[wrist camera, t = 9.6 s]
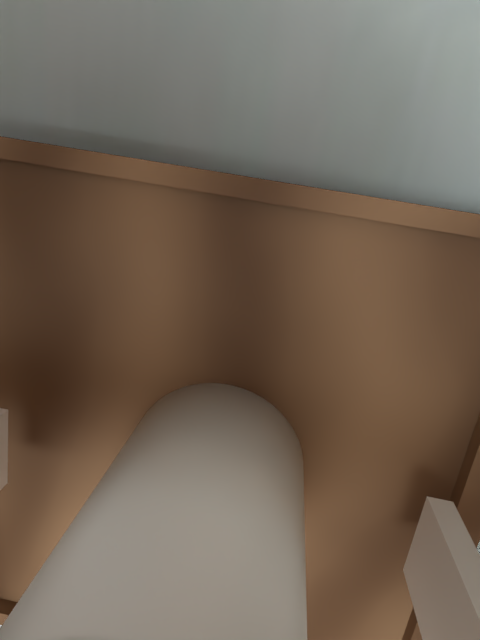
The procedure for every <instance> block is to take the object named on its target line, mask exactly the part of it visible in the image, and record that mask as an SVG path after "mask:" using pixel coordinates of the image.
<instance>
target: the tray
mask: <svg viewBox="0 0 480 640" xmlns="http://www.w3.org/2000/svg"><path fill="white" fill-rule="evenodd" d="M202 383H220V384H227V385H232V386H236V387H240V388H243V389H245V390H248V391H250V392H253V393H255V394H256V395H258V396H260V397H262V398H264V399H265V400H266V401H268V402H269V403H270V404H272V405H273V406H274V407H275V408H276V409H277V410H279V411H280V412H281V413H282V415H283V416H284V417H285V418H286V419H287V421H288V422H289V423H290V425H291V426H292V428H293V430H294V431H295V434H296V436H297V438H298V440H299V443H300V446H301V450H302V456H303V470H304V515H305V560H306V604H307V640H422V636H421V632H420V629H419V625H418V622H417V618H416V615H415V611H414V607H413V604H412V600H411V597H410V593H409V590H408V586H407V582H406V579H405V575H404V572H403V568H404V565H405V562H406V559H407V556H408V553H409V550H410V547H411V544H412V540H413V537H414V534H415V531H416V528H417V525H418V522H419V519H420V516H421V513H422V510H423V507H424V504H425V501H426V498H427V496H428V497H433V498H437V499H442V500H447V501H452V502H454V504H455V506H456V508H457V510H458V512H459V514H460V516H461V518H462V520H463V522H464V524H465V526H466V528H467V530H468V532H469V534H470V536H471V538H472V540H473V542H474V544H475V546H476V548H477V545H478V543H479V540H480V214H474V213H468V212H462V211H456V210H450V209H444V208H437V207H431V206H425V205H419V204H413V203H407V202H401V201H394V200H388V199H382V198H376V197H370V196H364V195H357V194H351V193H345V192H339V191H333V190H327V189H321V188H314V187H308V186H302V185H296V184H290V183H284V182H278V181H271V180H265V179H259V178H253V177H247V176H241V175H234V174H228V173H222V172H216V171H210V170H204V169H198V168H191V167H185V166H179V165H173V164H167V163H161V162H154V161H148V160H142V159H136V158H130V157H124V156H118V155H111V154H105V153H99V152H93V151H87V150H81V149H75V148H68V147H62V146H56V145H50V144H44V143H38V142H31V141H25V140H19V139H13V138H7V137H1V136H0V408H2V409H7V410H8V483H7V484H6V485H5V486H4V487H3V488H2V489H1V490H0V625H3V623H4V622H5V620H6V619H7V617H8V616H9V614H10V613H11V611H12V610H13V609H14V607H15V606H16V604H17V603H18V601H19V600H20V598H21V597H22V595H23V594H24V592H25V591H26V589H27V588H28V586H29V585H30V583H31V582H32V581H33V579H34V578H35V576H36V575H37V573H38V572H39V570H40V569H41V567H42V566H43V564H44V563H45V561H46V560H47V558H48V557H49V555H50V554H51V552H52V551H53V550H54V548H55V547H56V545H57V544H58V542H59V541H60V539H61V538H62V536H63V535H64V533H65V532H66V530H67V529H68V527H69V526H70V524H71V523H72V521H73V520H74V519H75V517H76V516H77V514H78V513H79V511H80V510H81V508H82V507H83V505H84V504H85V502H86V501H87V499H88V498H89V496H90V495H91V493H92V492H93V491H94V489H95V488H96V486H97V485H98V483H99V482H100V480H101V479H102V477H103V476H104V474H105V473H106V471H107V470H108V468H109V467H110V465H111V464H112V462H113V461H114V460H115V458H116V457H117V455H118V454H119V452H120V451H121V449H122V448H123V446H124V445H125V443H126V442H127V440H128V439H129V437H130V436H131V434H132V433H133V432H134V430H135V429H136V427H137V426H138V424H139V423H140V421H141V420H142V418H143V417H144V415H145V414H146V413H147V411H148V410H149V409H150V408H151V407H152V406H153V405H154V404H155V403H156V402H157V401H158V400H160V399H161V398H162V397H164V396H165V395H167V394H169V393H171V392H173V391H175V390H177V389H180V388H183V387H186V386H190V385H194V384H202Z"/></svg>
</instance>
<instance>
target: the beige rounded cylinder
mask: <svg viewBox="0 0 480 640" xmlns="http://www.w3.org/2000/svg"><path fill="white" fill-rule="evenodd" d="M0 640H307V604H306V560H305V515H304V470H303V456H302V450H301V446H300V443H299V440H298V438H297V436H296V434H295V431H294V430H293V428H292V426H291V425H290V423H289V422H288V421H287V419H286V418H285V417H284V416H283V415H282V413H281V412H280V411H279V410H277V409H276V408H275V407H274V406H273V405H272V404H270V403H269V402H268V401H266V400H265V399H264V398H262V397H260V396H258V395H256V394H255V393H253V392H250V391H248V390H245V389H243V388H240V387H236V386H232V385H227V384H220V383H202V384H194V385H190V386H186V387H183V388H180V389H177V390H175V391H173V392H171V393H169V394H167V395H165V396H164V397H162V398H161V399H160V400H158V401H157V402H156V403H155V404H154V405H153V406H152V407H151V408H150V409H149V410H148V411H147V413H146V414H145V415H144V417H143V418H142V420H141V421H140V423H139V424H138V426H137V427H136V429H135V430H134V432H133V433H132V434H131V436H130V437H129V439H128V440H127V442H126V443H125V445H124V446H123V448H122V449H121V451H120V452H119V454H118V455H117V457H116V458H115V460H114V461H113V462H112V464H111V465H110V467H109V468H108V470H107V471H106V473H105V474H104V476H103V477H102V479H101V480H100V482H99V483H98V485H97V486H96V488H95V489H94V491H93V492H92V493H91V495H90V496H89V498H88V499H87V501H86V502H85V504H84V505H83V507H82V508H81V510H80V511H79V513H78V514H77V516H76V517H75V519H74V520H73V521H72V523H71V524H70V526H69V527H68V529H67V530H66V532H65V533H64V535H63V536H62V538H61V539H60V541H59V542H58V544H57V545H56V547H55V548H54V550H53V551H52V552H51V554H50V555H49V557H48V558H47V560H46V561H45V563H44V564H43V566H42V567H41V569H40V570H39V572H38V573H37V575H36V576H35V578H34V579H33V581H32V582H31V583H30V585H29V586H28V588H27V589H26V591H25V592H24V594H23V595H22V597H21V598H20V600H19V601H18V603H17V604H16V606H15V607H14V609H13V610H12V611H11V613H10V614H9V616H8V617H7V619H6V620H5V622H4V623H3V625H2V626H1V628H0Z"/></svg>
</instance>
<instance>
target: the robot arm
mask: <svg viewBox="0 0 480 640" xmlns="http://www.w3.org/2000/svg"><path fill="white" fill-rule="evenodd" d="M7 483H8V410H7V409H2V408H0V490H1V489H2V488H3V487H4V486H5V485H6V484H7ZM403 572H404V575H405V579H406V582H407V586H408V590H409V593H410V597H411V600H412V604H413V607H414V611H415V615H416V618H417V622H418V625H419V629H420V632H421V636H422V640H480V554H479V552H478V550H477V548H476V546H475V544H474V542H473V540H472V538H471V536H470V534H469V532H468V530H467V528H466V526H465V524H464V522H463V520H462V518H461V516H460V514H459V512H458V510H457V508H456V506H455V504H454V502H452V501H447V500H442V499H437V498H433V497H428V496H427V498H426V501H425V504H424V507H423V510H422V513H421V516H420V519H419V522H418V525H417V528H416V531H415V534H414V537H413V540H412V544H411V547H410V550H409V553H408V556H407V559H406V562H405V565H404V568H403Z"/></svg>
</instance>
